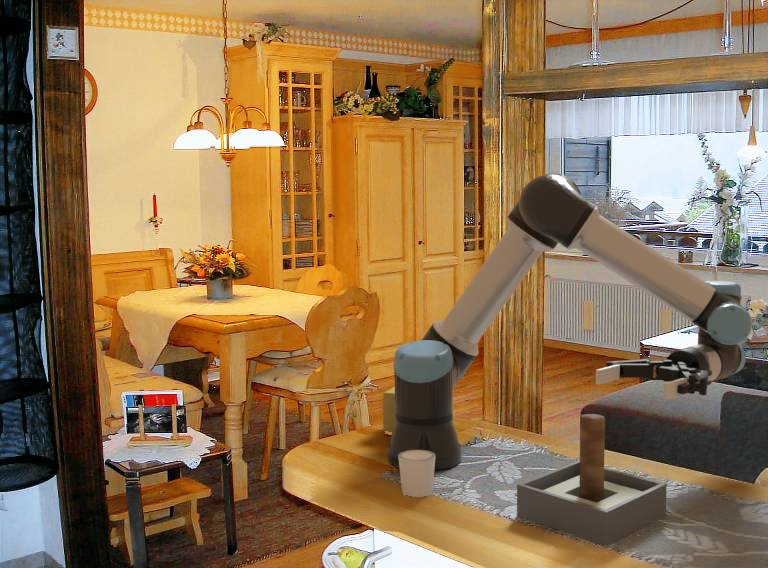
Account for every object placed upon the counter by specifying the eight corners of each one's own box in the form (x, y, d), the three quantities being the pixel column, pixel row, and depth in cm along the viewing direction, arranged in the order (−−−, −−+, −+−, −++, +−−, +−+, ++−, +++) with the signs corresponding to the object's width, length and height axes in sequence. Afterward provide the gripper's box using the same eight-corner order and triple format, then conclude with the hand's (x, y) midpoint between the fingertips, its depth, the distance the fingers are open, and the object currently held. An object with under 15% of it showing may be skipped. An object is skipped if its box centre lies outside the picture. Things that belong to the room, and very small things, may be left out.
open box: (516, 515, 151) (516, 484, 151) (578, 489, 163) (578, 460, 162) (606, 546, 138) (606, 512, 138) (665, 515, 150) (666, 483, 150)
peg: (574, 509, 151) (575, 417, 149) (588, 503, 154) (589, 412, 152) (594, 516, 148) (595, 421, 146) (608, 509, 151) (609, 417, 149)
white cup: (433, 499, 160) (432, 461, 159) (395, 497, 161) (394, 459, 160) (438, 486, 166) (438, 449, 165) (402, 484, 168) (401, 448, 167)
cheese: (441, 427, 204) (441, 384, 203) (424, 440, 195) (423, 396, 193) (399, 423, 208) (399, 381, 207) (380, 435, 199) (379, 391, 198)
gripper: (753, 398, 163) (694, 420, 149) (633, 374, 181) (571, 391, 167) (756, 358, 162) (697, 376, 148) (635, 338, 180) (572, 352, 166)
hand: (630, 384), depth 157 cm, fingers open, 13 cm apart
